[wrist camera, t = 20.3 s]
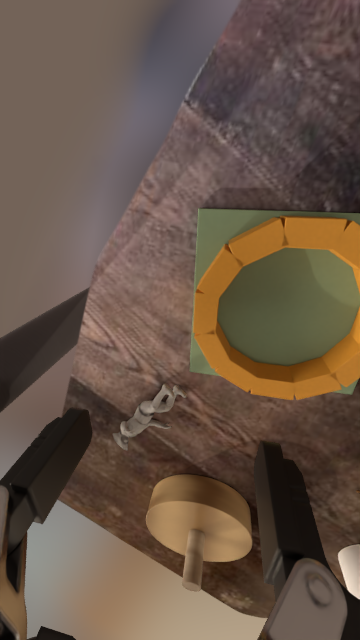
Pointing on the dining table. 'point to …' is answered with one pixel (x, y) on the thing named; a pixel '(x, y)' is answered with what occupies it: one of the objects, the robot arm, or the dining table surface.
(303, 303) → the mat
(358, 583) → the base with upright slab
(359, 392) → the dining table surface
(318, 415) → the dining table surface
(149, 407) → the soldier figure
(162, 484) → the ring stand
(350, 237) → the ring
